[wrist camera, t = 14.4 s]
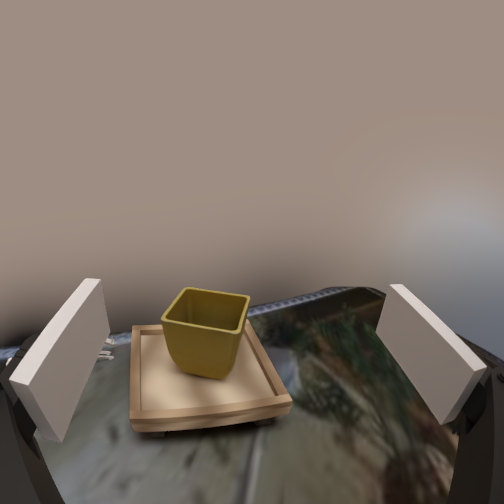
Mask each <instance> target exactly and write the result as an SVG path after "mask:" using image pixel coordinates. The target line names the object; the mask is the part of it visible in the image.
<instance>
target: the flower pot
mask: <svg viewBox="0 0 504 504" xmlns="http://www.w3.org/2000/svg"><path fill="white" fill-rule="evenodd" d="M249 303H250V297H249V296H246V295H239V294H231V293H224V292H217V291H211V290H204V289H197V288H191V287H185V288H184V289H183V290H182V291H181V292H180V294H179V295H178V296H177V298H176V299H175V300H174V302H173V303H172V304H171V306H170V307H169V308H168V309H167V310H166V312H165V313H164V314H163V316H162V318H161V322H162V327H163V332H164V336H165V340H166V345H167V348H168V351H169V354H170V356H171V358H172V359H173V361H174V362H175V363H176V365H177V366H178V367H179V368H180V369H182V370H183V371H184V372H186V373H189V374H194V375H199V376H204V377H209V378H214V379H219V380H221V379H224V378H225V377H226V376H227V375H228V374H229V373H230V371H231V370H232V368H233V365H234V363H235V359H236V355H237V351H238V348H239V344H240V341H241V338H242V335H243V332H244V328H245V323H246V318H247V313H248V308H249Z"/></svg>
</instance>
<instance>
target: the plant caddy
mask: <svg viewBox="0 0 504 504" xmlns="http://www.w3.org/2000/svg"><path fill="white" fill-rule="evenodd" d="M291 404H292V399H291V397H290V395H289V394H288V392H287V390H286V388H285V386H284V385H283V383H282V381H281V379H280V378H279V376H278V374H277V372H276V370H275V369H274V367H273V365H272V363H271V361H270V360H269V358H268V356H267V354H266V352H265V350H264V349H263V347H262V345H261V343H260V341H259V339H258V338H257V336H256V334H255V332H254V330H253V328H252V326H251V325H250V323H249V321H248V319H247V320H246V323H245V328H244V332H243V335H242V338H241V341H240V344H239V348H238V351H237V355H236V359H235V363H234V365H233V368H232V370H231V371H230V373H229V374H228V375H227V376H226V377H225V378H224V379H221V380H219V379H214V378H209V377H204V376H199V375H194V374H189V373H186V372H184V371H183V370H182V369H180V368H179V367H178V366H177V365H176V363H175V362H174V361H173V359H172V358H171V356H170V354H169V351H168V348H167V345H166V340H165V336H164V332H163V327H162V325H141V326H140V325H139V326H133V328H132V342H131V361H130V422H131V425H132V428H133V431H134V432H150V434H151V437H152V438H153V437H165V432H164V431H174V430H187V429H198V428H208V427H216V426H224V425H231V424H238V423H244V422H250V421H254V423H255V425H256V426H259V425H265V424H270V423H271V420H272V417H276V416H281V415H286V414H289V411H290V408H291Z"/></svg>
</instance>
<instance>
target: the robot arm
mask: <svg viewBox="0 0 504 504" xmlns="http://www.w3.org/2000/svg"><path fill="white" fill-rule="evenodd" d="M109 333H110V329H109V324H108V319H107V313H106V308H105V303H104V297H103V290H102V284H101V279H87V278H86V279H85V280H84V281H83V282H82V283H81V285H80V286H79V287H78V288H77V289H76V290H75V292H74V293H73V294H72V295H71V296H70V298H69V299H68V300H67V301H66V302H65V304H64V305H63V306H62V307H61V309H60V310H59V311H58V312H57V314H56V315H55V316H54V318H53V319H52V320H51V321H50V323H49V324H48V325H47V326H46V328H45V329H44V330H43V332H42V333H41V334H40V333H35V334H33V335H32V336H30V337H29V338H28V339H26V340H25V342H24V343H23V344H22V346H21V347H20V348H19V349H20V350H18V351H17V352H16V354H15V355H14V357H13V358H12V359H11V360H10V362H9V363H8V365H7V366H6V367H5V369H4V370H3V372H2V373H1V375H0V504H65V502H64V501H63V499H62V497H61V495H60V493H59V491H58V489H57V487H56V485H55V483H54V481H53V479H52V476H51V474H50V472H49V470H48V468H47V465H46V463H45V461H44V458H43V456H42V453H41V451H40V448H39V446H38V443H37V441H36V439H35V437H34V436H33V434H34V432H35V430H36V428H37V429H38V431H39V432H40V434H41V435H42V437H43V438H45V439H49V440H52V441H55V442H59V443H62V442H63V439H64V436H65V434H66V431H67V428H68V426H69V423H70V421H71V418H72V416H73V413H74V411H75V408H76V406H77V403H78V401H79V399H80V396H81V394H82V392H83V389H84V387H85V385H86V382H87V380H88V378H89V376H90V373H91V371H92V369H93V367H94V365H95V362H96V360H97V358H98V356H99V354H100V352H101V350H102V348H103V346H104V343H105V341H106V339H107V337H108V335H109ZM376 334H377V335H378V336H379V338H380V339H381V340H382V342H383V343H384V344H385V346H386V347H387V349H388V350H389V351H390V353H391V354H392V355H393V357H394V358H395V360H396V361H397V362H398V364H399V365H400V367H401V368H402V369H403V371H404V372H405V374H406V375H407V376H408V378H409V379H410V381H411V382H412V384H413V385H414V386H415V388H416V389H417V391H418V392H419V394H420V395H421V397H422V398H423V400H424V401H425V403H426V404H427V405H428V407H429V408H430V410H431V411H432V413H433V414H434V416H435V417H436V419H437V420H438V422H439V423H440V425H443V424H445V423H448V422H450V421H453V420H454V419H455V418H456V416H457V415H458V413H459V412H460V411H461V409H462V410H463V412H464V413H465V414H464V416H463V417H462V419H461V420H460V421H459V423H458V424H457V426H456V427H455V428H454V430H453V432H452V434H455V432H456V431H457V430H458V429H459V428H460V431H459V433H458V434H457V435H459V443H458V450H457V456H456V462H455V468H454V473H453V478H452V483H451V487H450V491H449V496H448V500H447V503H446V504H504V368H501V367H497V368H494V369H492V368H491V367H490V366H489V365H488V364H487V363H486V362H485V361H484V360H483V359H482V358H481V357H480V356H479V355H478V354H477V353H476V352H475V351H473V348H472V347H471V346H470V345H468V343H467V342H465V341H464V340H463V339H462V338H461V337H460V336H459V335H457V334H455V333H454V332H453V331H452V330H451V329H450V328H448V327H447V326H446V325H445V324H444V323H443V322H442V321H441V320H440V319H439V318H438V317H437V316H436V315H435V314H434V313H433V312H432V311H430V309H428V308H427V307H426V306H425V305H424V304H423V303H422V302H421V301H420V300H419V299H418V298H416V297H415V296H414V295H413V294H412V293H411V292H410V291H409V290H408V289H407V288H405V287H404V286H403V285H402V284H392V285H389V289H388V292H387V295H386V299H385V303H384V306H383V310H382V313H381V316H380V320H379V323H378V326H377V329H376Z"/></svg>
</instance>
